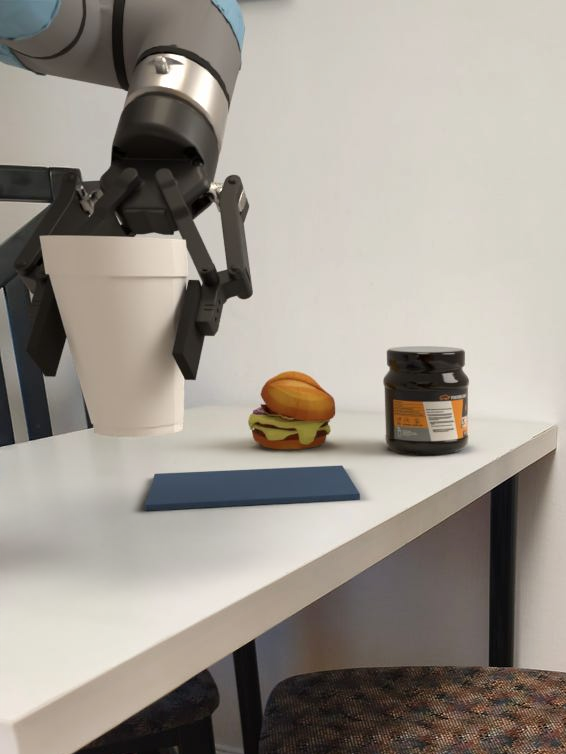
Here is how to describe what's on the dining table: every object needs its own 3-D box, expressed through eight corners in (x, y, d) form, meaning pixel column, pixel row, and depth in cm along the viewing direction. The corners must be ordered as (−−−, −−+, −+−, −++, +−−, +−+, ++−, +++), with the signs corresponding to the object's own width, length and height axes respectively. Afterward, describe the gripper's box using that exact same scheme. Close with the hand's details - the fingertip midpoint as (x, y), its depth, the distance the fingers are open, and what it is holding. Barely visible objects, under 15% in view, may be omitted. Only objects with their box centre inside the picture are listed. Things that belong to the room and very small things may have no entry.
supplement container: (449, 459, 106) (449, 354, 102) (370, 452, 110) (367, 350, 105) (480, 444, 116) (481, 347, 111) (406, 438, 119) (404, 344, 114)
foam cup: (114, 417, 71) (89, 239, 66) (224, 422, 70) (208, 241, 65) (44, 437, 62) (9, 234, 57) (169, 443, 61) (144, 236, 56)
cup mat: (145, 511, 83) (144, 504, 82) (155, 479, 95) (154, 473, 95) (360, 499, 87) (359, 493, 87) (342, 470, 100) (342, 465, 100)
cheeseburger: (290, 433, 121) (298, 360, 116) (347, 461, 117) (358, 386, 112) (231, 442, 113) (238, 364, 108) (290, 473, 109) (299, 393, 104)
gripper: (10, 89, 67) (-76, 323, 58) (299, 92, 66) (255, 330, 58) (56, 175, 74) (-14, 396, 65) (319, 179, 73) (282, 403, 64)
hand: (112, 365), depth 61 cm, fingers closed on foam cup, 9 cm apart
